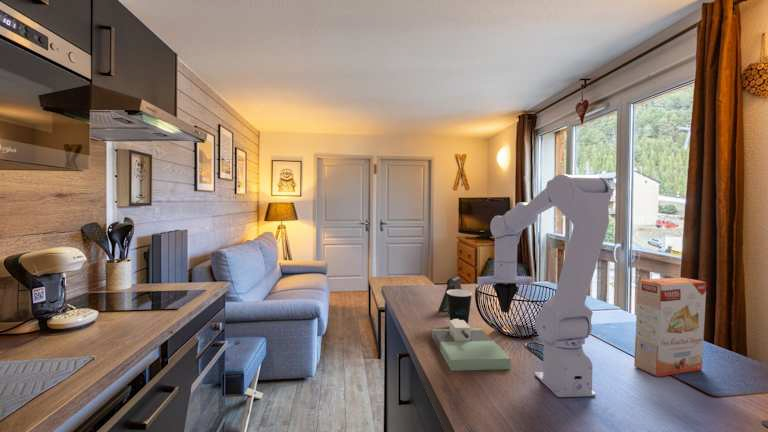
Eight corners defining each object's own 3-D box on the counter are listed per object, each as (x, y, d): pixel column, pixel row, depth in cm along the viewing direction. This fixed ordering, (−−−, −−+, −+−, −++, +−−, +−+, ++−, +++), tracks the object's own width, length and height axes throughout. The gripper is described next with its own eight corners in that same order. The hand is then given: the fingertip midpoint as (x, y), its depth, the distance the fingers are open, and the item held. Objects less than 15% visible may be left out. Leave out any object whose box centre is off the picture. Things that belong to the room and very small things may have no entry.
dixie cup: (456, 321, 114) (457, 288, 113) (477, 328, 107) (477, 292, 107) (440, 326, 108) (441, 291, 108) (461, 334, 102) (461, 296, 102)
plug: (474, 356, 87) (474, 332, 87) (458, 356, 87) (459, 332, 87) (462, 340, 98) (462, 318, 98) (448, 340, 97) (448, 319, 97)
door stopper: (438, 310, 125) (438, 277, 125) (445, 306, 130) (445, 275, 130) (462, 315, 120) (463, 280, 120) (468, 311, 125) (469, 277, 125)
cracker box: (659, 379, 76) (662, 284, 76) (632, 366, 82) (635, 278, 81) (705, 371, 80) (708, 281, 79) (676, 360, 86) (679, 276, 85)
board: (510, 369, 80) (510, 358, 80) (451, 370, 79) (451, 359, 79) (480, 336, 100) (480, 328, 100) (432, 337, 99) (432, 328, 99)
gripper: (524, 258, 97) (523, 306, 98) (474, 258, 96) (473, 307, 97) (537, 262, 90) (536, 314, 91) (483, 262, 89) (482, 315, 90)
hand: (504, 311), depth 93 cm, fingers closed
